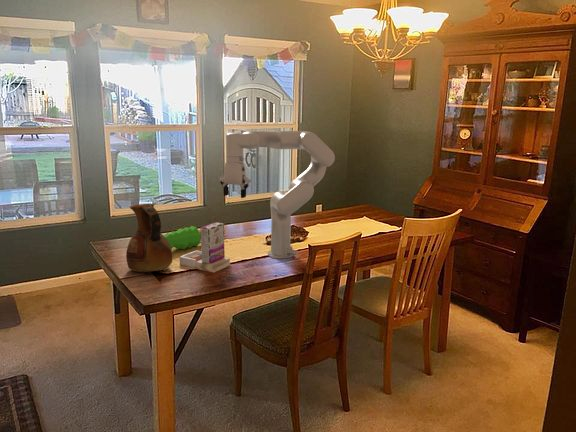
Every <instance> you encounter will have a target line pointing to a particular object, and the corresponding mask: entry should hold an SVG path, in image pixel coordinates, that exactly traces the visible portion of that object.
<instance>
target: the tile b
mask: <svg viewBox="0 0 576 432" xmlns="http://www.w3.org/2000/svg"><path fill="white" fill-rule="evenodd" d="M190 258H191V259H196V262H197V261H199V260H200V255H194V256H191V257H190Z"/></svg>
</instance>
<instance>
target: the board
mask: <svg viewBox="0 0 576 432" xmlns="http://www.w3.org/2000/svg"><path fill="white" fill-rule="evenodd" d="M229 266H231V258H229V257H225V258H223V259H220V260H218V261H216V262H214V263H211V264H208V263H203V262H202V260H199V261H197V262H196V268H195V269H196V270H201V271H205V272H208V273H209V272H210V273H216V272H219V271H221V270H223V269H224V268H227V267H229Z"/></svg>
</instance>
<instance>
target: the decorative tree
mask: <svg viewBox="0 0 576 432" xmlns="http://www.w3.org/2000/svg"><path fill="white" fill-rule="evenodd" d="M163 236H164V237H165V238H166V239H167V241H168V242H169V244H170V247H171V250H172V249H173V248H175V249H180V250H186V248H189V249H191V248H192V247H198V246H199V245H201V244H200V243H201V230H199V229H198V227H197V226H193V225H190V227H187V226H185V227H184V228H179V229H177V230H176V231H173V230H172V231H171V232H166V233H165V234H164V235H163Z"/></svg>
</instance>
